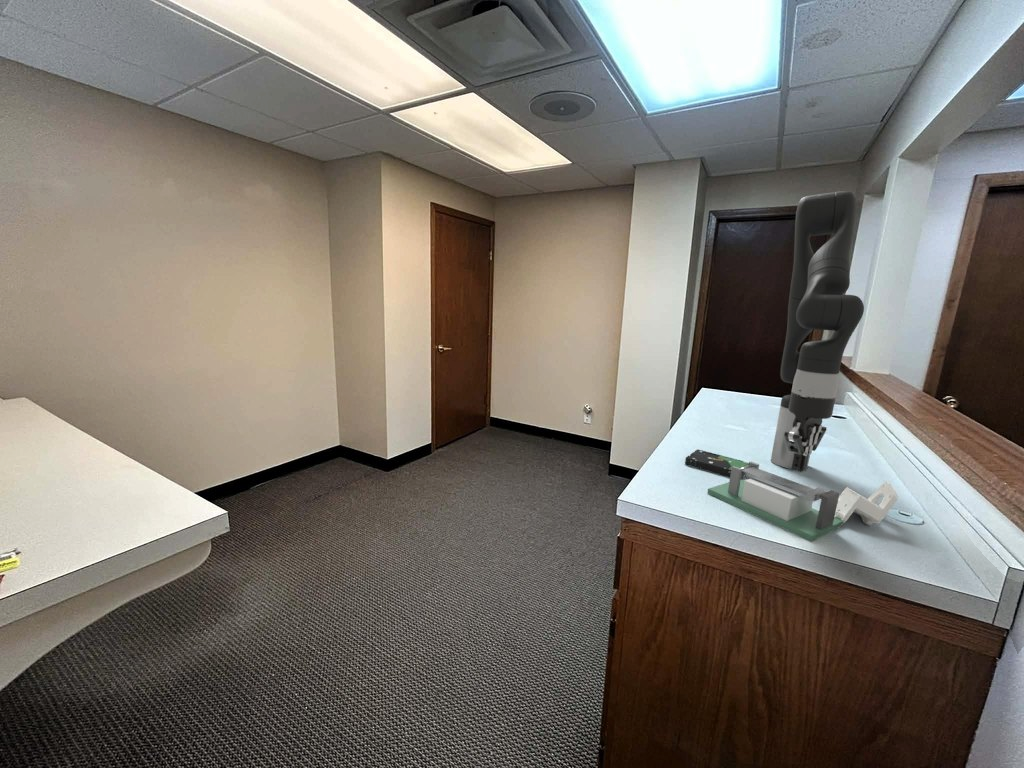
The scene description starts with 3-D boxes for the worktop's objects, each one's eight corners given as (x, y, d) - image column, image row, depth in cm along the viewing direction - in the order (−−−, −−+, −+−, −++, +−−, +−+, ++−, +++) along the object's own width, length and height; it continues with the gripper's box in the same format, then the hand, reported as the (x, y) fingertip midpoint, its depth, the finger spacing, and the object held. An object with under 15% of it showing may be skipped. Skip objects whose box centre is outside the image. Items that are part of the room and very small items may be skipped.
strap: (748, 469, 101) (749, 462, 101) (825, 497, 87) (827, 489, 87) (735, 472, 99) (736, 465, 98) (813, 502, 85) (814, 494, 84)
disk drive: (684, 466, 119) (740, 482, 110) (685, 457, 119) (742, 472, 109) (695, 457, 127) (749, 471, 117) (696, 448, 126) (751, 461, 117)
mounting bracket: (864, 540, 87) (903, 503, 82) (832, 520, 89) (868, 483, 85) (855, 517, 97) (890, 483, 92) (827, 499, 99) (859, 465, 95)
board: (738, 483, 108) (743, 455, 106) (842, 525, 88) (849, 492, 87) (707, 493, 101) (711, 463, 100) (811, 541, 82) (819, 505, 80)
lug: (824, 521, 88) (831, 489, 86) (832, 524, 86) (839, 492, 85) (812, 526, 85) (819, 494, 84) (820, 530, 84) (827, 497, 82)
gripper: (809, 386, 92) (795, 459, 96) (777, 391, 86) (763, 469, 89) (849, 393, 86) (833, 471, 89) (817, 399, 79) (801, 483, 83)
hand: (798, 470), depth 89 cm, fingers closed
